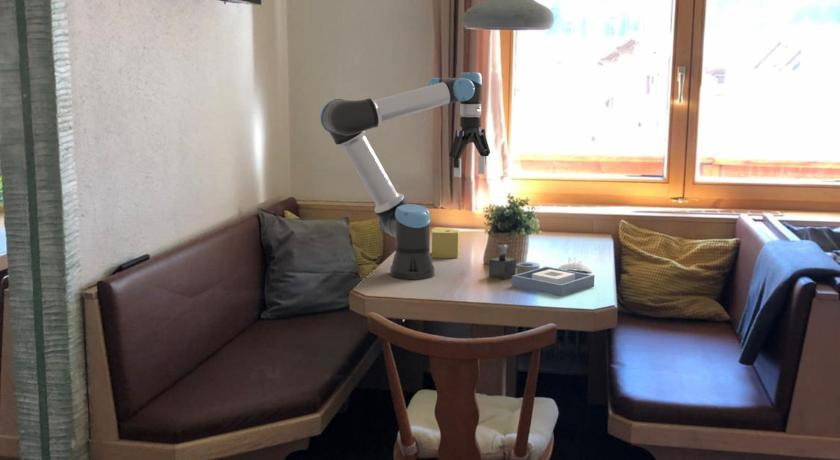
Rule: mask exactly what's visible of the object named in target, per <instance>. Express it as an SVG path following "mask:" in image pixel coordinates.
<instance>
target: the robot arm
mask: <svg viewBox="0 0 840 460" xmlns="http://www.w3.org/2000/svg"><path fill="white" fill-rule="evenodd" d="M482 77H483V76H482V74H481V73H480V72H477V71H476V72H475V71H474V72H473V71H472V72H469V71H468V72H465V71H464V72H461V73H460V76H459V77H432V78H430V79H429V80H428V83H427V86H423V87H419V88H415V89H412V90H407V91H405V92H400V93H396V94H392V95H389V96H386V97H382V98H378V99H373V98H366V99H359V100H349V99H347V100H346V99H343V98H335V99H332V100H330V101H328V102H327V103H325V105H323V107H322V109H321V110H320V114H319V120H320V123H321V125H322V126H321V127H322V128H323V129H324V130H325V131H326V132H328V133H329V135H330V136H331V139H332V140H333V142H334V143H335V145H336V146H338V147H342V148H343V150H344V151H345V153H346V155H347V157H348V158H349V160H350V162H351V164H352V165H353V167H354V169H355V170H356V172H357V174H358V175H359V178H360V179H361V181H362V183H363V184H364V187H365V189H366V190H367V192H368V193H369V196H370V197H371V199H372V200H373V203H374V204H375V207H374V213H375V214H376V216H377V219H378V223H379V226H380V228H381V229H382V230H383V232H384V233H386V234H387V235H389V236H391V237H393V238H395V253H394V256H393V260H392V263H391V266H390V276H391V277H394V278H397V279H403V280H423V279H428V278H432V277H434V276H435V274H436V273H435V266H434V265H433V260H432V255H431V253H430V251H431V249H430V246H431V245H430V244H431V243H430V241H431V240H430V237H431V236H430V235H431V233H430V232H431V215H430V210H429V209H428V208H427V207H425V206H423V205H418V204H413V203H412V204H411V203H409V202H408V200H407V199H406V197H405V195H404V194H403V193H400V192H397V190H396V188H395V186H394V185H393V183H392V181H391V179H390V177H389V176H388V174H387V172H386V170H385V168H384V167H383V165H382V163H381V162H380V160H379V158H378V156H377V153H376V152H375V150H374V149H373V147H372V145H371V144H370V142H369V140H368V138H367V137H366V131H368V130H371V129H374V128H377V127H379V126H380V124H381V123H384V122H387V121H392V120H395V119H398V118H402V117H406V116H411V115H412V114H417V113H420V112H424V111H427V110H430V109H434V108H438V107H442V106H445V105H448V104H454V103H457V102H459V103H460V105H459V106H460V107H459V108H460V109H459V115H460V118H459V126H460V127H461V129H460V130H458V129H457V130H455V132H454V133H455V134H454V139H453V143H452V144H451V148H450V150H449V151H450V152H449V155H448V156H449V157H450V159H453V177H455V178H462V158H461V156H462V155H463V152H464V150H465V149H466V147H467V145H468V144H470V143H472V144H473V145H474V146H475V148H476V149H477V152H478V154H479V155H478V158H477V159H478V160H477V161H478V165H477V166H478V167H477V174H479V175H486V163H487V157H489V155H490V154H491V150H490V146H489V144H488V140H487V137H486V130H485V128H481V127H482V117H481V115H482V89H483V81H482V80H483V79H482Z"/></svg>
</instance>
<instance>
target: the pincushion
mask: <svg viewBox="0 0 840 460" xmlns="http://www.w3.org/2000/svg"><path fill="white" fill-rule="evenodd" d="M567 260H568V262H567V263H564V264H562V265H560V266H559V267H558V268H557V269H563V270H568V271H571V270H572V271H574V272H575V270H576V271H577V272H579V271H581V272H582V271H585V272H593V270H592V269H591V268H590V267H588V266H587V265H585V264H583V263H581V262H576V258H574V261H573V262H572V261H571V262H570V258H568V259H567ZM570 269H571V270H570ZM579 273H580V272H579Z"/></svg>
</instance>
